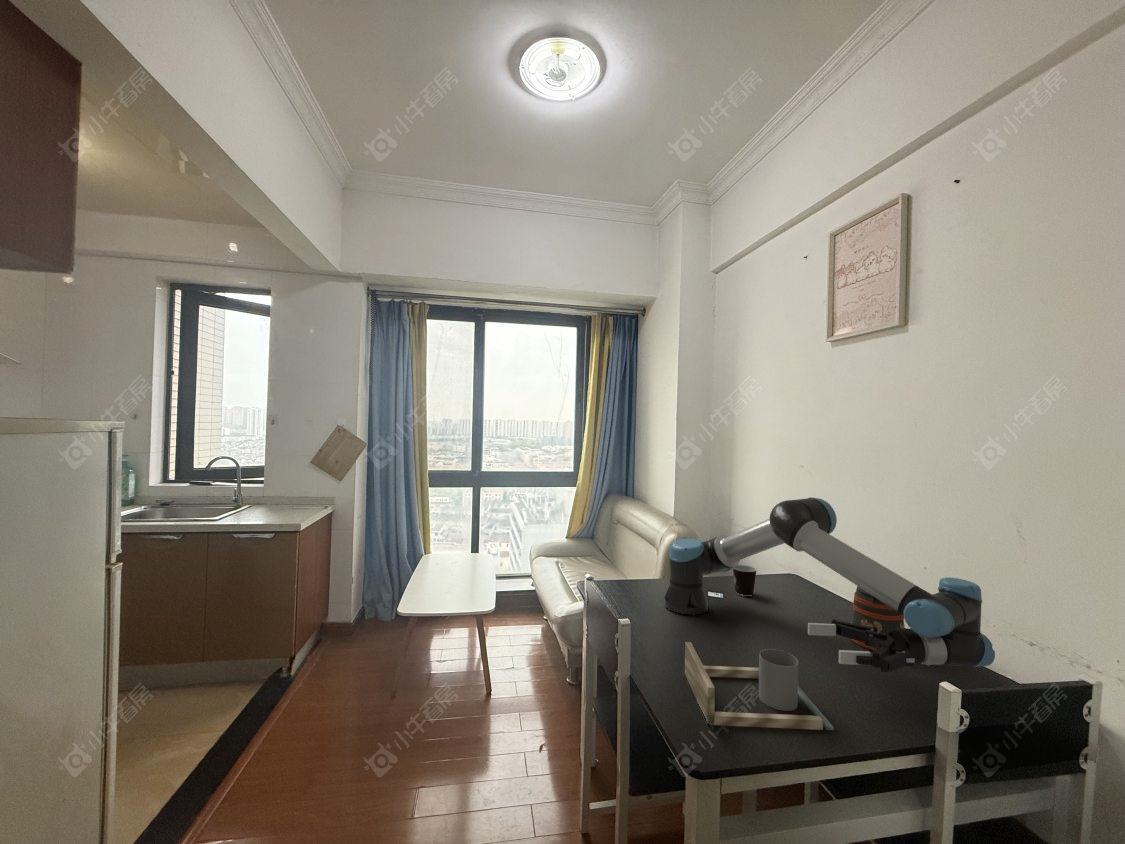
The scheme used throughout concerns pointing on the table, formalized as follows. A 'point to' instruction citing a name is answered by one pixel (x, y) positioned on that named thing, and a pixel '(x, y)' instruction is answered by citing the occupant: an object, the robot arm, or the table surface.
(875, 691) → the table surface
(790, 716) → the bay
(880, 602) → the beer stein
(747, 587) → the coffee mug
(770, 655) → the cup
